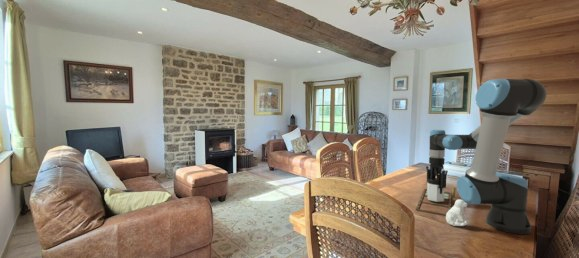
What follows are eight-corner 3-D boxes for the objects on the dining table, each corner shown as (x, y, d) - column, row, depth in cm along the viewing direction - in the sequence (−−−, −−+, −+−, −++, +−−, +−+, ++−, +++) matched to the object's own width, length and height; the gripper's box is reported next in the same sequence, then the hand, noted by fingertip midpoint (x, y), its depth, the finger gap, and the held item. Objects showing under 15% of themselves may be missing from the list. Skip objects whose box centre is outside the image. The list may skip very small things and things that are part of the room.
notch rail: (454, 217, 121) (455, 205, 121) (415, 210, 130) (416, 198, 130) (455, 194, 157) (455, 184, 157) (424, 190, 166) (424, 181, 166)
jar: (446, 200, 143) (447, 179, 143) (441, 202, 138) (441, 181, 138) (430, 196, 150) (430, 176, 150) (424, 199, 145) (424, 178, 145)
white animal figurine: (448, 220, 118) (448, 195, 117) (470, 226, 112) (471, 199, 111) (444, 224, 113) (444, 198, 113) (466, 230, 107) (467, 203, 106)
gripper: (455, 159, 135) (453, 202, 136) (431, 154, 152) (430, 193, 153) (443, 159, 134) (441, 203, 135) (420, 155, 150) (419, 193, 152)
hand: (435, 197), depth 144 cm, fingers closed on jar, 4 cm apart
